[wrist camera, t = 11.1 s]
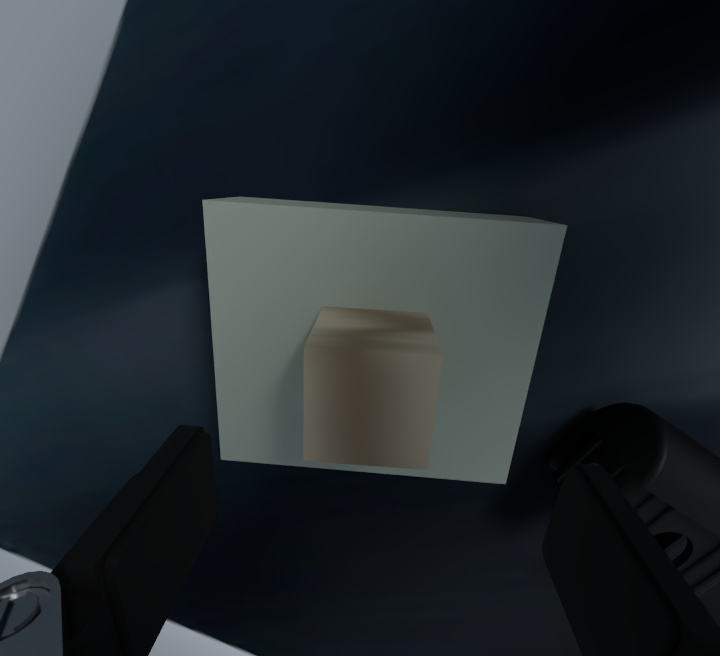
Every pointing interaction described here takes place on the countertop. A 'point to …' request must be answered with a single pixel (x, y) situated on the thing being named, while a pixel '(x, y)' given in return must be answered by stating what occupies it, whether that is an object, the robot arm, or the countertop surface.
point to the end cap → (654, 481)
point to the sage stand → (378, 292)
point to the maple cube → (370, 388)
